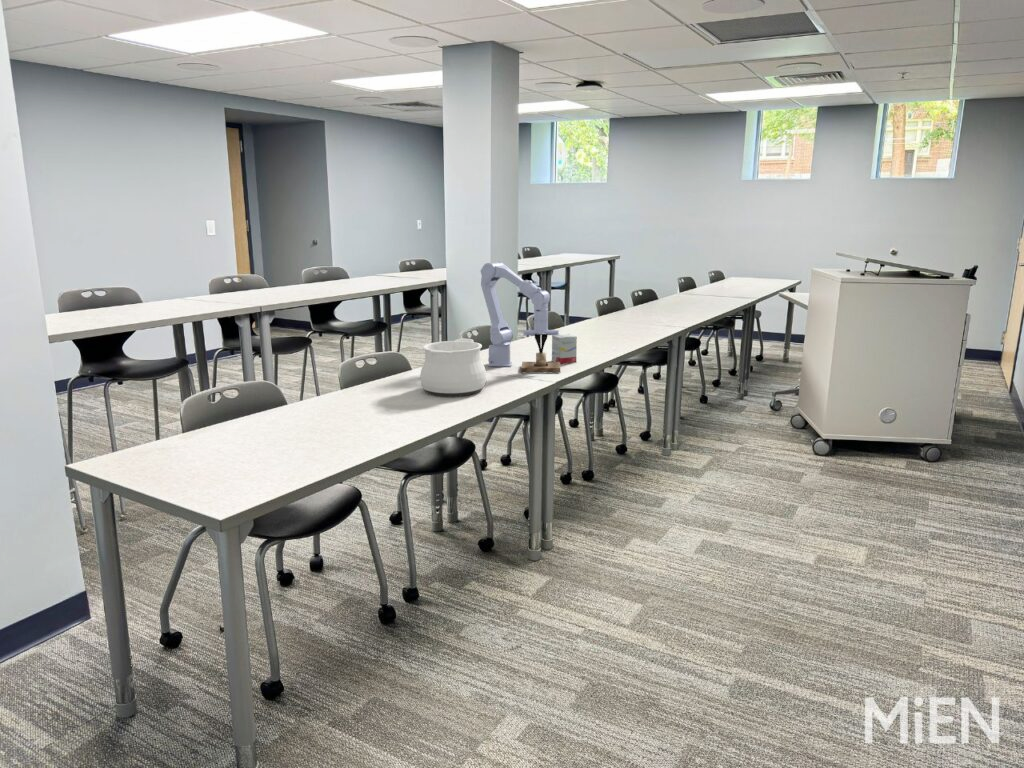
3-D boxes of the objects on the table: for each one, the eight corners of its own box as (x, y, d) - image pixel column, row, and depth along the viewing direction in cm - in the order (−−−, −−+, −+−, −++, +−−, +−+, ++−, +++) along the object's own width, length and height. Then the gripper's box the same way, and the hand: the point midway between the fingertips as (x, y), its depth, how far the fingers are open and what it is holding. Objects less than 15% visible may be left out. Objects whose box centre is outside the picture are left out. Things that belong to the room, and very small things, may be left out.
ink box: (577, 362, 315) (577, 335, 312) (559, 364, 312) (559, 337, 309) (568, 359, 323) (568, 333, 320) (551, 360, 320) (551, 334, 317)
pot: (438, 380, 284) (437, 336, 280) (497, 384, 277) (496, 339, 273) (407, 397, 258) (405, 349, 254) (470, 402, 250) (469, 353, 246)
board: (521, 372, 295) (521, 368, 295) (522, 366, 308) (522, 361, 308) (560, 372, 295) (560, 368, 294) (559, 366, 307) (559, 361, 307)
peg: (535, 370, 299) (535, 354, 298) (536, 368, 303) (536, 352, 302) (545, 370, 298) (545, 354, 297) (546, 368, 303) (546, 352, 301)
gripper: (523, 321, 293) (523, 354, 296) (558, 321, 292) (558, 354, 295) (523, 319, 300) (523, 351, 303) (558, 319, 299) (558, 351, 302)
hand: (541, 352), depth 300 cm, fingers closed
